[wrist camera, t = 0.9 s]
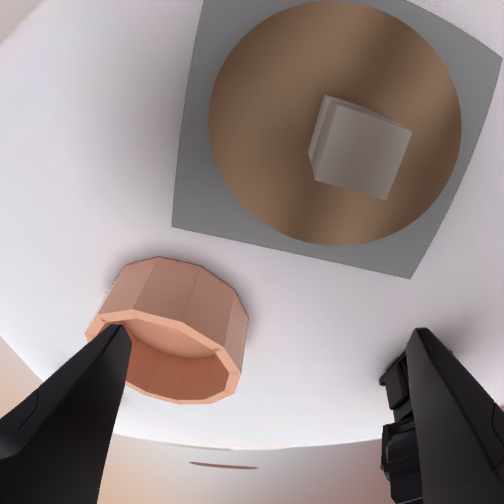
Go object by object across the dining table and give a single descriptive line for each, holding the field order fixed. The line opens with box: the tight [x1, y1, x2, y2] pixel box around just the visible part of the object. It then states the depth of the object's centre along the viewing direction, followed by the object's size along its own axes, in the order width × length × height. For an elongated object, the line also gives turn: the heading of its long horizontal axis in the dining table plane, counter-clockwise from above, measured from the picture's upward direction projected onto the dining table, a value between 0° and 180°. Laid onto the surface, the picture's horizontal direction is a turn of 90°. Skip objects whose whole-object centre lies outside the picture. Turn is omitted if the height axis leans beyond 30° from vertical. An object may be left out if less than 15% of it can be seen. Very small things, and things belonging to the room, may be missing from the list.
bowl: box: [85, 257, 248, 404], centre depth 24 cm, size 12×12×6 cm
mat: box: [172, 0, 503, 279], centre depth 16 cm, size 17×17×1 cm
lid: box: [208, 1, 462, 246], centre depth 13 cm, size 14×14×5 cm
